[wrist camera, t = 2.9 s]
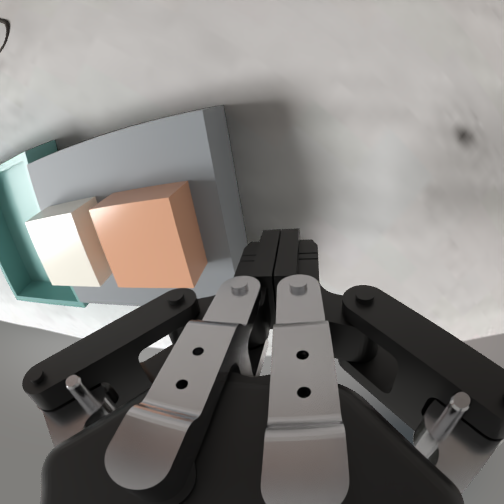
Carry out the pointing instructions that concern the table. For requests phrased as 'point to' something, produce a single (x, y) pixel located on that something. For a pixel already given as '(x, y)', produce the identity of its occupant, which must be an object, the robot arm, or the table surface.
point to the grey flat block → (151, 174)
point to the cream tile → (69, 244)
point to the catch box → (26, 234)
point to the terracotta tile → (151, 236)
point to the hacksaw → (6, 32)
